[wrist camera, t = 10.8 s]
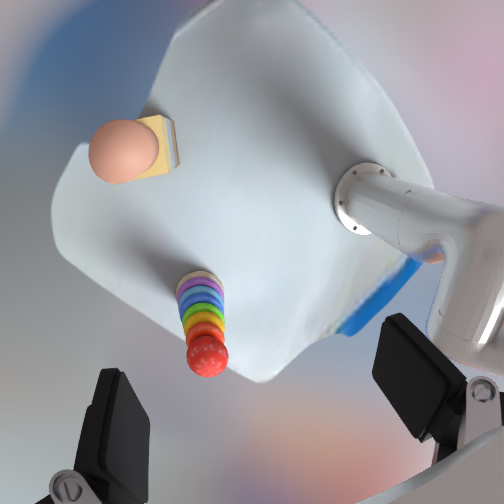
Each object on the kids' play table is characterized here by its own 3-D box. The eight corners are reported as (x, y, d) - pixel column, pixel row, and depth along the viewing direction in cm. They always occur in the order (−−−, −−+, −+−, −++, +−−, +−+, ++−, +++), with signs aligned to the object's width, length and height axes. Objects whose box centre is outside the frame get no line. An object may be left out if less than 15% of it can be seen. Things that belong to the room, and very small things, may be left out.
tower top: (165, 118, 29) (160, 114, 24) (172, 168, 31) (167, 173, 26) (116, 129, 28) (103, 127, 23) (123, 178, 30) (111, 184, 26)
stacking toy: (176, 310, 49) (172, 391, 32) (176, 267, 46) (168, 341, 29) (221, 311, 50) (236, 390, 33) (225, 269, 48) (243, 342, 31)
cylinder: (156, 118, 24) (145, 113, 19) (162, 169, 26) (153, 176, 21) (106, 129, 24) (85, 127, 18) (113, 179, 26) (94, 189, 20)
